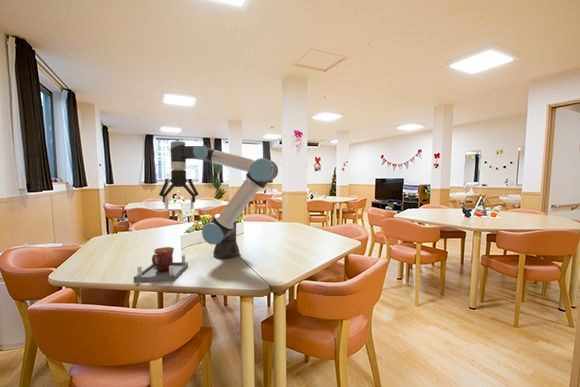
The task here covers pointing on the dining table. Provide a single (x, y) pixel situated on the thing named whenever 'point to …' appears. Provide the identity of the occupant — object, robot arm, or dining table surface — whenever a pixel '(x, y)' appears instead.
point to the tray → (154, 275)
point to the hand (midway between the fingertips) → (179, 208)
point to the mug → (163, 258)
